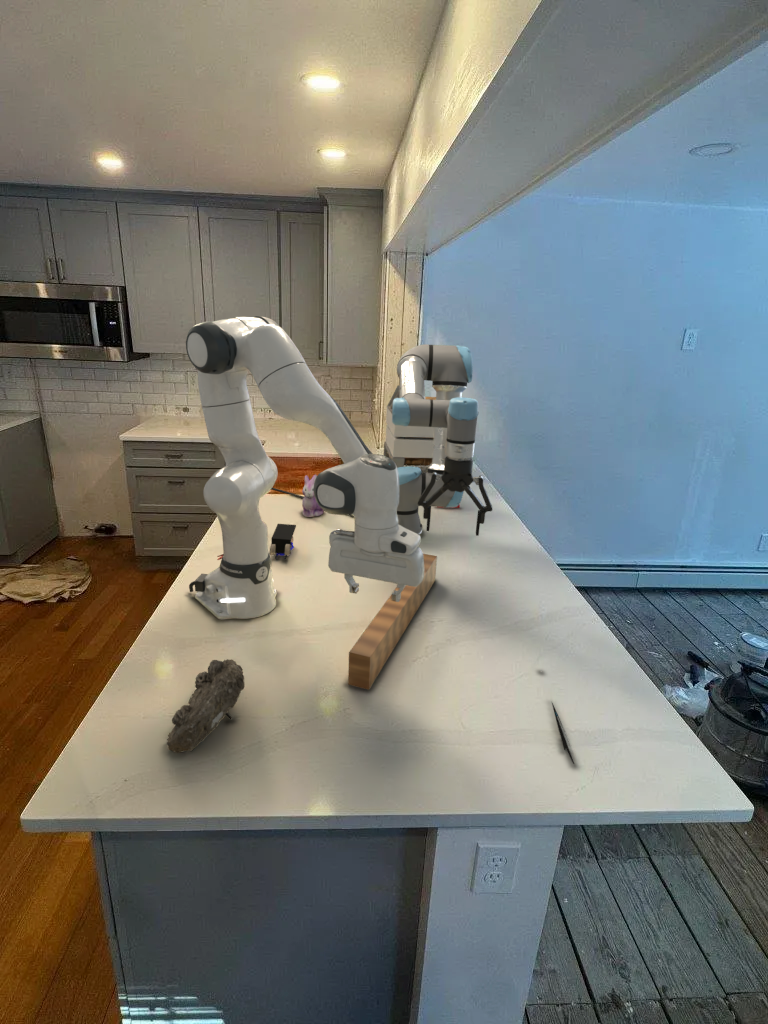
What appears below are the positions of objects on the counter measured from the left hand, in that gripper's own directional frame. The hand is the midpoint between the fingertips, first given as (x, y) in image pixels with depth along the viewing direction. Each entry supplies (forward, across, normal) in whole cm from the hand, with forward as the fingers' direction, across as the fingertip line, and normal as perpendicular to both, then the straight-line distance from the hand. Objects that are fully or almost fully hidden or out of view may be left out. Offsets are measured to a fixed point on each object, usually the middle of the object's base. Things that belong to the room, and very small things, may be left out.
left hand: (374, 596), depth 119 cm
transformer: (+18, -36, +156) cm, 161 cm away
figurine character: (+17, -48, +45) cm, 68 cm away
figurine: (+17, -56, +82) cm, 101 cm away
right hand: (+1, +6, +45) cm, 45 cm away
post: (+18, -1, +20) cm, 27 cm away
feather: (+18, +39, 0) cm, 43 cm away
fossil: (+17, -22, -27) cm, 39 cm away
